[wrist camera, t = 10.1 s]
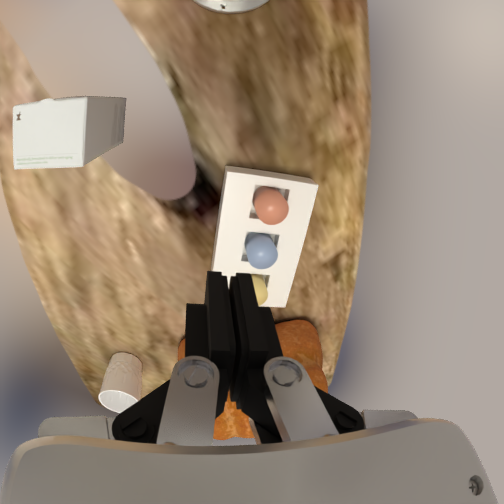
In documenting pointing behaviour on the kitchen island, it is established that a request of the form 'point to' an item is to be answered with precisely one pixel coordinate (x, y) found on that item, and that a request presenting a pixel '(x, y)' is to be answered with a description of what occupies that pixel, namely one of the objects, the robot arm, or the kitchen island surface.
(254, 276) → the mustard button
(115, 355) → the white cup
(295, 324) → the bread
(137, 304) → the kitchen island surface
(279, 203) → the rust button
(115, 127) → the skincare box
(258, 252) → the slate button
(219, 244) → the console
